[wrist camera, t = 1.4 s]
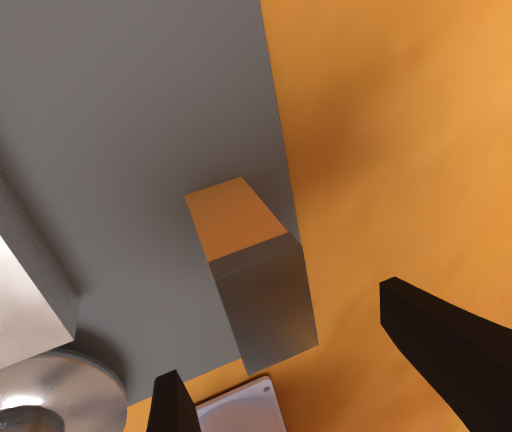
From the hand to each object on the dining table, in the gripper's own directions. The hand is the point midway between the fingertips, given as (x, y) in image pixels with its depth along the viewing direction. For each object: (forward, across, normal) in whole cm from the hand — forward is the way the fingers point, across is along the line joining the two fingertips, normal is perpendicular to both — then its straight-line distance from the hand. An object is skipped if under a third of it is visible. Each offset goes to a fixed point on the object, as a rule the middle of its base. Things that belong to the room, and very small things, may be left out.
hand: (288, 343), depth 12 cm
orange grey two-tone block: (+8, 0, 0) cm, 8 cm away
